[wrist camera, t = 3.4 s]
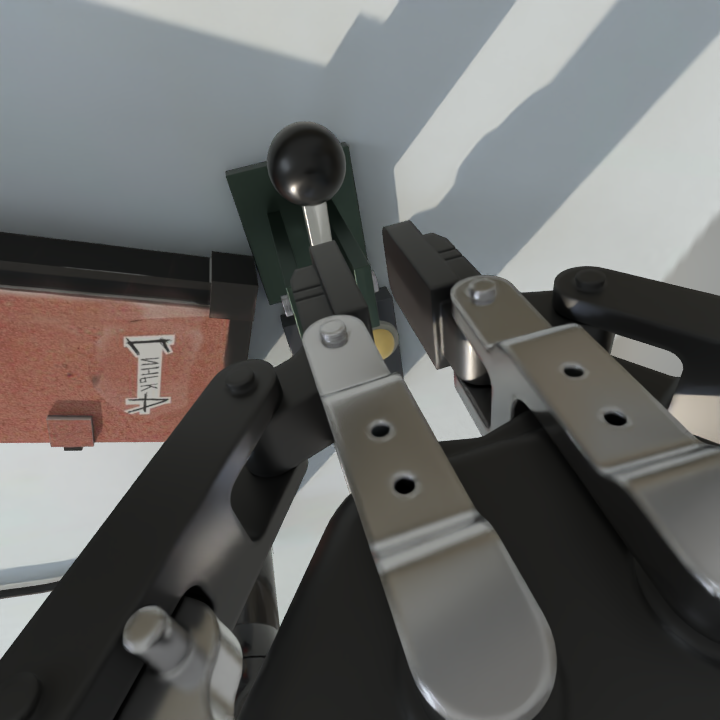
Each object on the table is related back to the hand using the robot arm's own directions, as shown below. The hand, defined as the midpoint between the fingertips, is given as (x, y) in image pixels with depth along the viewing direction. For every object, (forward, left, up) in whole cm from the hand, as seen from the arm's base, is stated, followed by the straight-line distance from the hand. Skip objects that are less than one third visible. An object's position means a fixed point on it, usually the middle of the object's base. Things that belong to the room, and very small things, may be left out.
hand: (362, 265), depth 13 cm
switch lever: (0, -4, -13) cm, 14 cm away
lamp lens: (+3, -19, -21) cm, 29 cm away
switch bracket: (0, -9, -25) cm, 27 cm away
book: (-20, -13, -25) cm, 35 cm away
